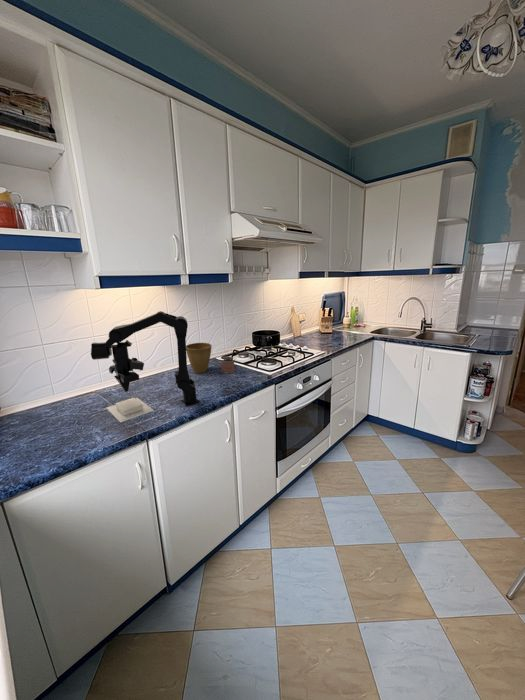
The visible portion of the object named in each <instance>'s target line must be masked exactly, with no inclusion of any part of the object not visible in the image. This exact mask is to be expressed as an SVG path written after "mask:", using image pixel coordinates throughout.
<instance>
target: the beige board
mask: <svg viewBox="0 0 525 700" xmlns="http://www.w3.org/2000/svg"><path fill="white" fill-rule="evenodd" d="M134 398H135V397H134ZM135 399H136V400H137V401H139V402H140V403H141V404H142V405H143V410H140V411H137V412H134V413H132V414H129V415H126V416H124V415H123V414H122V413H121V412H120V411H119V410H118V409H117V408H116V404H113V405H111V406H107V407H106V409H107V411H109V413H110V414H111V415H112V416H113V417H115V419H116V420H117V421H118V422H119V423H123V422H126V421H128V420H131V419H134V418H136V417H139V416H143V415H146V414H149V413H151V412H154V409H153V408H151V407H150V406H149V405H148V404H147V403H145V402H143V401H142V400H141V399H140V398H138V397H136V398H135Z"/></svg>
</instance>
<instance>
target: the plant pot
mask: <svg viewBox="0 0 525 700" xmlns="http://www.w3.org/2000/svg"><path fill="white" fill-rule="evenodd" d="M211 352H212V344H211V343H208V342H195V343H194V342H193V343H188V344H186V356H187V358H188V361H189V364H190V366H191V368H192V371H193V372H194V373H195V374H204V373H206V372H207V370H208V367H209V363H210V359H211V355H212V354H211Z"/></svg>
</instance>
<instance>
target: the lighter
mask: <svg viewBox="0 0 525 700" xmlns="http://www.w3.org/2000/svg"><path fill="white" fill-rule="evenodd" d="M220 365H221V367H220V369H221V374H228V375H229V373H234V374H235V373H236V370H235V360H234V359H233V356H229V355H228V356H221V360H220Z"/></svg>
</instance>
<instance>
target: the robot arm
mask: <svg viewBox="0 0 525 700" xmlns="http://www.w3.org/2000/svg"><path fill="white" fill-rule="evenodd" d="M158 323H162V324H165V325H166V326H169V327H170V328H173V329H174V332H175V337H176V341H177V359H178V362H177V363H178V370H175V371H174V376H175V379H174V380H175V385H177V388H178V389H179V390H181V391H182V397H183V399H181V400H180V402H181V403H183V404H185V406H186V407H189V406H191V405H195V404H197V403H200V400H199V399H198V398H197V391H196V384H195V382H196V381H195V380H193V379H191V378H190V377H191V376H190V373H189V369H188V361H187V358H188V356H187V351H186V345H187V341H186V339H187V334H188V325H189V324H188V320H187V318H186V317H184V316H182V315H181V316H180V315H179V316H176V315H173V314H169V313H166V312H164V311H160V310H159V311H157V312H156V313H154V314H152V315H149V316H147V317H144V318H142V319H140V320H137V321H134V322H132V323H129V324H128V323H126V324H121V325H117V326H115V327H113V328H111V330H110V331H109V332H108V339H107V340H106V341H104V342H92V343H91V344H90V345H91V348H90V357H91V359H92V360H93V361H95V360H104V359H109V358H110V357H111V356H112V357H113V359H112V363H113V365H110V367H109V368H108V371H109V374H114V373H115V375H114V376H113V377H114V378H115V380H116V382H117V383H118V384H119V385H120V387H121V388H122V389H123V390H124V391H123V392H126V393H127V392H128V391H129V388H130V383H132V382H135V381H139V380H140V374H139V373H136V372H135V371H134V370H139V371H144V365H145V362H143V361H140V360H138V358H137V357H131V358H130V357H129V350H128V348H129V347H132V345H133V343H132V342H131V341H129V340H128V339H127V338H129V337H131V336H132V335H133V334H135V333H137V332H138V333H139V332H140V331H142V330H145V329H147V328H150V327H152V326H154V325H157V324H158ZM124 340H125V341H124Z"/></svg>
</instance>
